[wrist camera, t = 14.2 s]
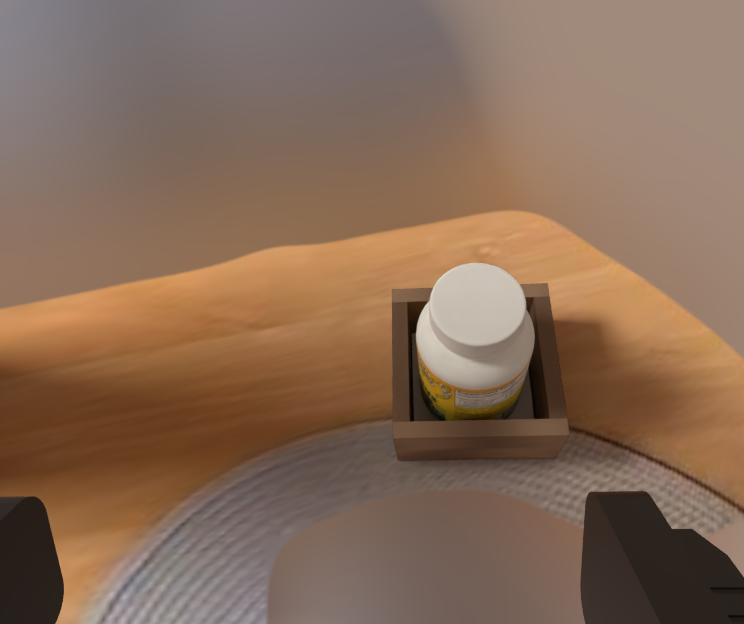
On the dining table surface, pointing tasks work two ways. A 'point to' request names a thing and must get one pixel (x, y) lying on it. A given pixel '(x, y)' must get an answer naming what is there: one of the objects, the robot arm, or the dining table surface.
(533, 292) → the holder
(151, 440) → the dining table surface
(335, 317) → the dining table surface
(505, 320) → the supplement bottle
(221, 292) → the dining table surface
